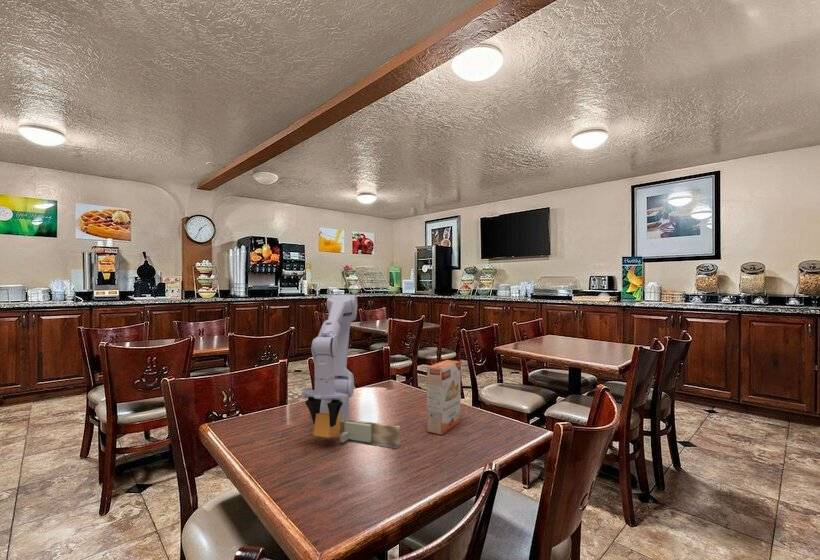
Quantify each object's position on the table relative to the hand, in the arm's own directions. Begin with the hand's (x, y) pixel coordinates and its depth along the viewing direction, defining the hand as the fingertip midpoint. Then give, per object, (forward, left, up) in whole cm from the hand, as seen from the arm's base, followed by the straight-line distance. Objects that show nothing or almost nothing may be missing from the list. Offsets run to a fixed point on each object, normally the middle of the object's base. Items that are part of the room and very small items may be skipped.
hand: (324, 424), depth 112 cm
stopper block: (0, +1, -3) cm, 4 cm away
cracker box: (+29, +26, -6) cm, 39 cm away
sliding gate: (+8, +4, -6) cm, 11 cm away
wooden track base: (+11, +6, -6) cm, 14 cm away
